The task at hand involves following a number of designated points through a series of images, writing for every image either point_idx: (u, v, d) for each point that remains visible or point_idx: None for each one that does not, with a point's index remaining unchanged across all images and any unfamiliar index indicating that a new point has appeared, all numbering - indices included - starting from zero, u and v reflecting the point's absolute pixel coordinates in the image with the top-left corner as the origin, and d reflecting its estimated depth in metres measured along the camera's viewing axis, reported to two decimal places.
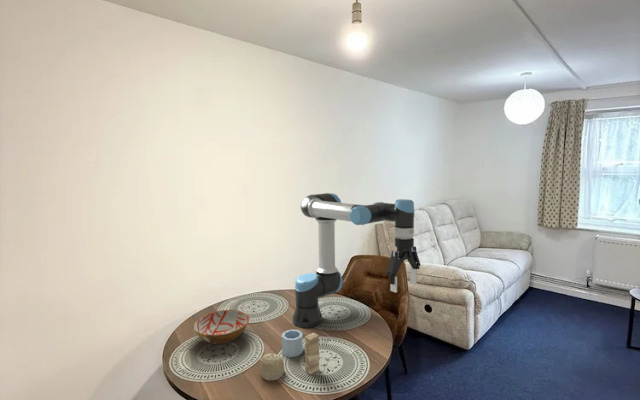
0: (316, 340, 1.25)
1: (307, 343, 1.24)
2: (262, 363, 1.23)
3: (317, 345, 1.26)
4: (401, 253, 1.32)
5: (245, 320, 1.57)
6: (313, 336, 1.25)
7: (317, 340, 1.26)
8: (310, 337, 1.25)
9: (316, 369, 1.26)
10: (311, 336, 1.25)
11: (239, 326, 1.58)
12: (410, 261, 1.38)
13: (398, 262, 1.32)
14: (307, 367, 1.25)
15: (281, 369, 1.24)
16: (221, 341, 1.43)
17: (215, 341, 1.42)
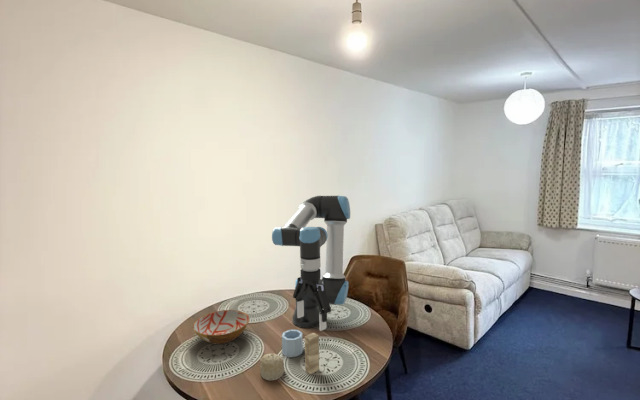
0: (316, 340, 1.25)
1: (307, 343, 1.24)
2: (262, 363, 1.23)
3: (317, 345, 1.26)
4: (303, 282, 1.25)
5: (245, 320, 1.57)
6: (313, 336, 1.25)
7: (317, 340, 1.26)
8: (310, 337, 1.25)
9: (316, 369, 1.26)
10: (311, 336, 1.25)
11: (239, 326, 1.58)
12: None
13: None
14: (307, 367, 1.25)
15: (281, 369, 1.24)
16: (221, 341, 1.43)
17: (215, 341, 1.42)
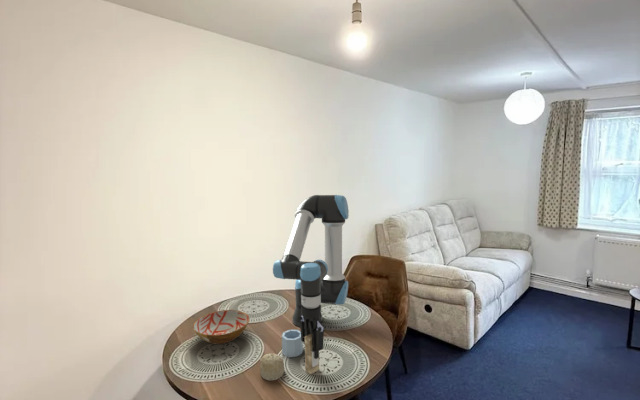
0: None
1: (307, 343, 1.24)
2: (262, 363, 1.23)
3: None
4: (304, 318, 1.27)
5: (245, 320, 1.57)
6: None
7: None
8: (310, 337, 1.25)
9: (316, 369, 1.26)
10: (311, 336, 1.25)
11: (239, 326, 1.58)
12: None
13: None
14: (307, 367, 1.25)
15: (281, 369, 1.24)
16: (221, 341, 1.43)
17: (215, 341, 1.42)
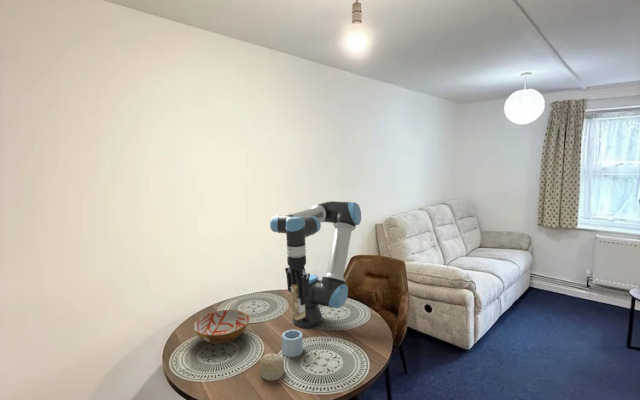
0: None
1: (293, 291, 1.32)
2: (262, 363, 1.23)
3: None
4: (290, 268, 1.34)
5: (245, 320, 1.57)
6: None
7: None
8: (296, 285, 1.32)
9: (302, 316, 1.35)
10: (297, 285, 1.33)
11: (239, 326, 1.58)
12: None
13: None
14: (294, 314, 1.34)
15: (281, 369, 1.24)
16: (221, 341, 1.43)
17: (215, 341, 1.42)
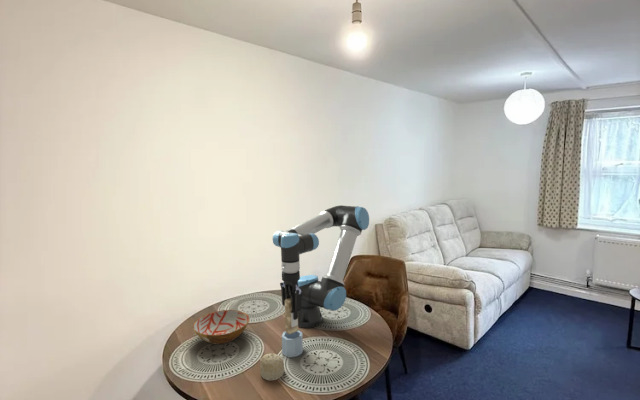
0: None
1: (287, 305, 1.37)
2: (262, 363, 1.23)
3: None
4: (284, 283, 1.39)
5: (245, 320, 1.57)
6: None
7: None
8: (289, 300, 1.37)
9: (295, 330, 1.39)
10: (290, 299, 1.38)
11: (239, 326, 1.58)
12: None
13: None
14: (287, 328, 1.38)
15: (281, 369, 1.24)
16: (221, 341, 1.43)
17: (215, 341, 1.42)
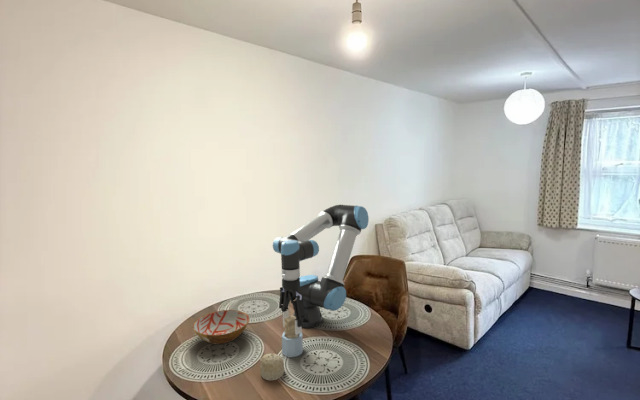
0: (294, 321, 1.39)
1: (286, 324, 1.38)
2: (262, 363, 1.23)
3: None
4: (284, 290, 1.40)
5: (245, 320, 1.57)
6: (292, 318, 1.38)
7: None
8: (289, 319, 1.38)
9: None
10: (290, 318, 1.39)
11: (239, 326, 1.58)
12: None
13: None
14: None
15: (281, 369, 1.24)
16: (221, 341, 1.43)
17: (215, 341, 1.42)
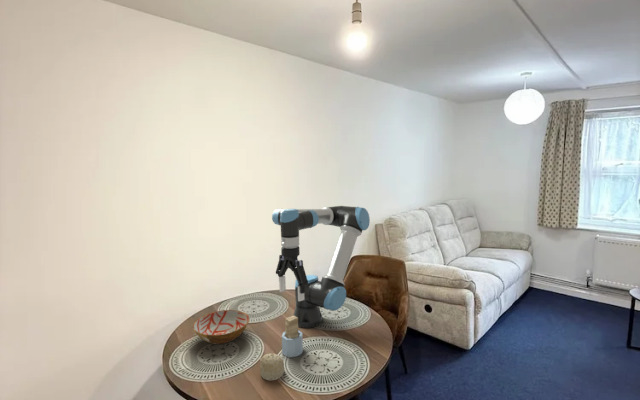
0: (295, 321, 1.39)
1: (287, 324, 1.38)
2: (262, 363, 1.23)
3: (296, 326, 1.39)
4: (284, 259, 1.38)
5: (245, 320, 1.57)
6: (293, 318, 1.38)
7: (296, 322, 1.39)
8: (290, 319, 1.38)
9: None
10: (291, 318, 1.39)
11: (239, 326, 1.58)
12: None
13: None
14: None
15: (281, 369, 1.24)
16: (221, 341, 1.43)
17: (215, 341, 1.42)
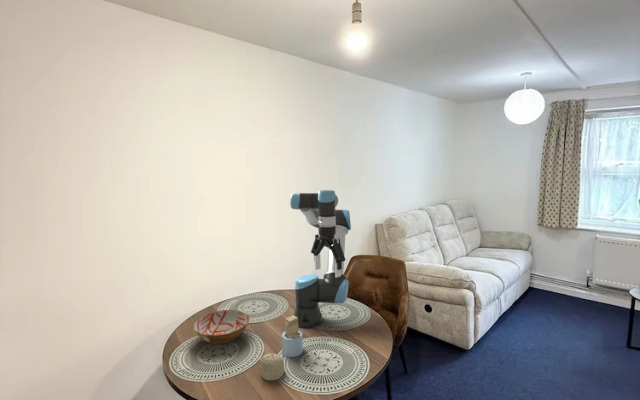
0: (295, 321, 1.39)
1: (287, 324, 1.38)
2: (262, 363, 1.23)
3: (296, 326, 1.39)
4: (320, 238, 1.45)
5: (245, 320, 1.57)
6: (293, 318, 1.38)
7: (296, 322, 1.39)
8: (290, 319, 1.38)
9: None
10: (291, 318, 1.39)
11: (239, 326, 1.58)
12: None
13: None
14: None
15: (281, 369, 1.24)
16: (221, 341, 1.43)
17: (215, 341, 1.42)
